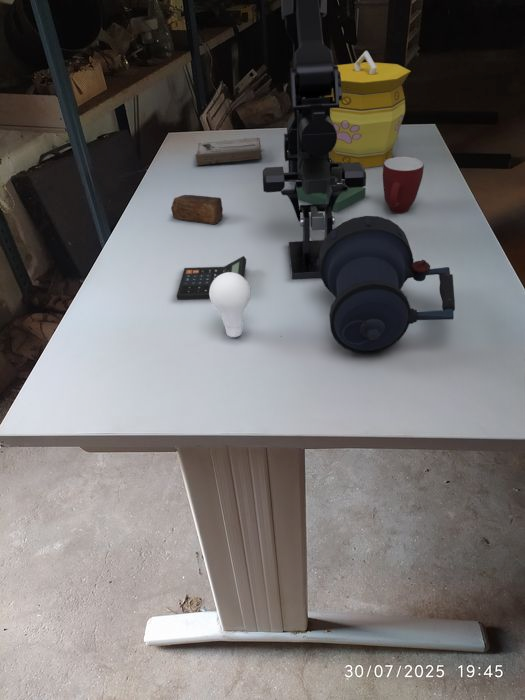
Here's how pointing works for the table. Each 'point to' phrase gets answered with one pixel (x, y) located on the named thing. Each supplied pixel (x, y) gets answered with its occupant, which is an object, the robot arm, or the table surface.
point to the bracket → (308, 248)
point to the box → (228, 151)
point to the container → (368, 111)
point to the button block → (342, 200)
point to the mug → (401, 182)
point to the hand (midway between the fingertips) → (313, 220)
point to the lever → (315, 215)
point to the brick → (197, 208)
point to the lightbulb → (230, 300)
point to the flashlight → (375, 283)
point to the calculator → (205, 279)
